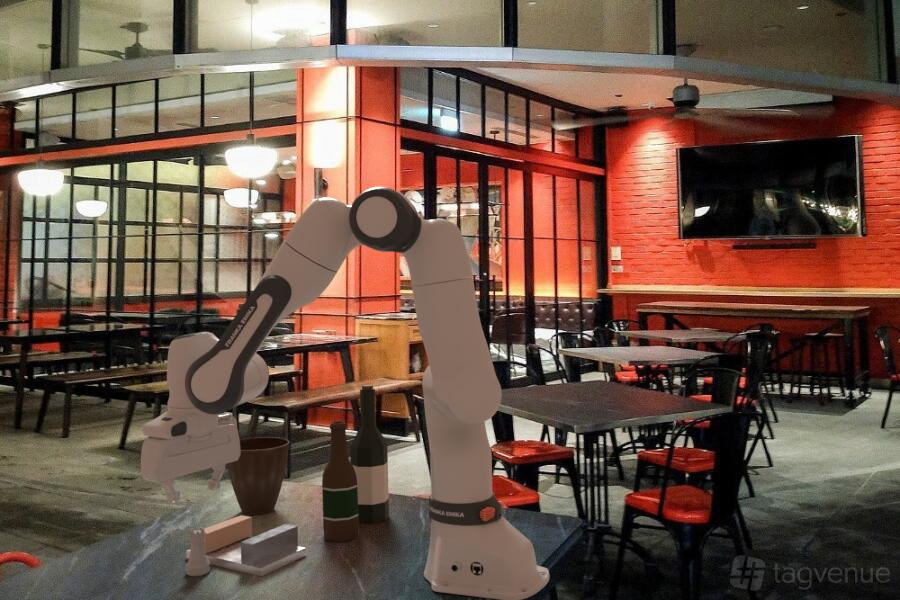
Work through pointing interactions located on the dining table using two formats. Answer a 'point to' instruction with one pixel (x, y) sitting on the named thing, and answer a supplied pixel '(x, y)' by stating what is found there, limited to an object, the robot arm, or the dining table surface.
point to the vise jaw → (227, 532)
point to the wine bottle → (370, 463)
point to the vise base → (260, 569)
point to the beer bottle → (339, 490)
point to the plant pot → (259, 473)
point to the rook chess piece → (197, 554)
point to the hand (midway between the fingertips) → (194, 495)
